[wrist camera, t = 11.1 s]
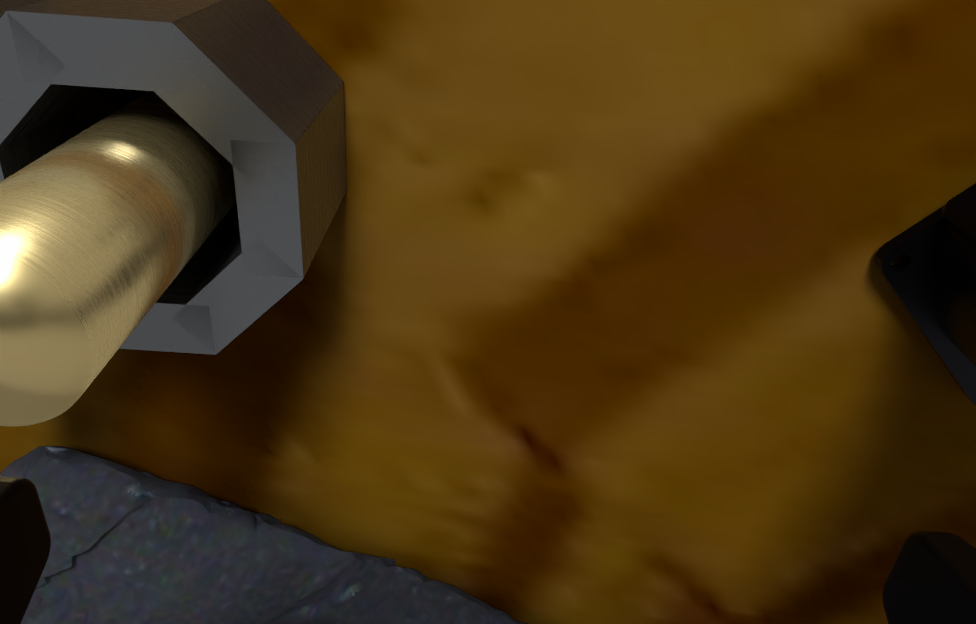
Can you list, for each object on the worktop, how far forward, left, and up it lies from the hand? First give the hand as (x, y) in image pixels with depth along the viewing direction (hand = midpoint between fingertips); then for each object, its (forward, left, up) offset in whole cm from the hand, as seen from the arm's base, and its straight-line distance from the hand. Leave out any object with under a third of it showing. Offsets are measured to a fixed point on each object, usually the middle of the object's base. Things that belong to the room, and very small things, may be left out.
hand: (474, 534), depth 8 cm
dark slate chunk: (-9, +19, -14) cm, 25 cm away
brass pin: (+5, +5, -13) cm, 15 cm away
